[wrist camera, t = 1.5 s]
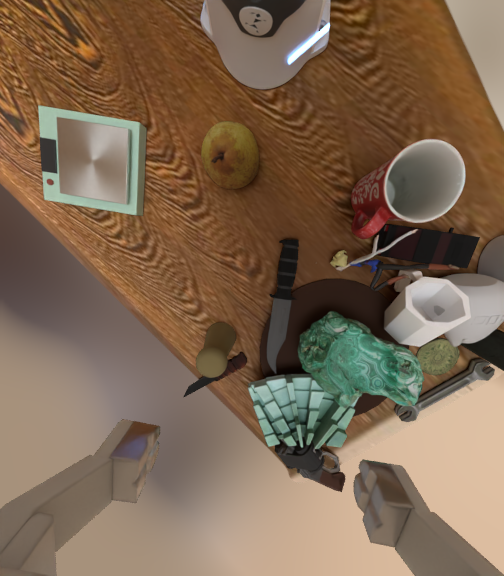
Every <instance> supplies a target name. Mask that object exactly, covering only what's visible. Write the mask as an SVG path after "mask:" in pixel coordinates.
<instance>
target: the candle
mask: <svg viewBox="0 0 504 576" xmlns="http://www.w3.org/2000/svg"><path fill="white" fill-rule="evenodd" d="M461 345H462V346H464V347H465V348H467V349H469V350H470V351H472V352H474V353H475V354H477V355H479V356H480V357H482V358H484V359H485V360H487V361H488V362H490V363H492V364H493V365H495V366H497V367H498V368H500V369H502V370H503V371H504V332H502V331H500V330H498V329H495V330H494V331H493V332H492V333H490V334H489V335H488V336H487V337H485V338H483V339H481V340H479V341H477V342H475V343H461Z"/></svg>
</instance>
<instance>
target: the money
mask: <svg viewBox="0 0 504 576" xmlns="http://www.w3.org/2000/svg"><path fill="white" fill-rule="evenodd" d="M248 386H249V387H248V390H249V393H250V395H251V398H252V400H253V403H254V406H253V407H254V410H255V412H256V415H257V417H258V421H259V424H260V426H261V429H262V431H263V433H264V435H265V436H264V437H265V440H266V443H267V445H268V446H273V445H277V444H280V441H279V439H284V441H285V442H286V443H287V445H288V446H296V445H297V444H296V440H299V442H300V446H301V447H303V441H302V436H304V437H305V440H306V444H307V445H310V443H311V441H312V440H313V443H314V448H315V449H319V448H320V447H321V446H322V445H323V444H324V442H325V443H326V445H328V446H335V447H341V446H342V444H343V443H344V441H345V439H346V437H347V434H346V433H345V430H346V428H347V426H348V424H349V422H350V420H351V418H352V416H353V415H354V413H355V409H354V406H355V404H356V402H357V400H358V398H359V397H358V398H357V399H356V401H355V402H354V403H353V404H352V405H350V406H349V407H348V408H346V409H345V408H343V407H340V405H339V404H338V403H337V402H336V400H335V398H334V396H333V395H331V394H329V393H327V392H325V391H324V390H323V389H322V388H321V387H320V386H318V385H317V383H316V381H315V379H314V378H313V376H312V374H287V375H279V376H273V377H267V378H265V379H263V380H259V381H255V382H251V383H249V384H248Z"/></svg>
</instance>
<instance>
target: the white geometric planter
mask: <svg viewBox="0 0 504 576" xmlns="http://www.w3.org/2000/svg"><path fill="white" fill-rule="evenodd" d="M402 274H405V275H408V276H409V278H410V279H408V278H403V279H400V280H398V281H396V283H395V285H394V289H395V291H396V292H401V293H400V294H399V295H398V296H397V298H396V299H395V300H394V301H393V302H392V304H391V305H390V306H389V307H388V308H387V309H386V311H385V316H384V330H386V331H387V332H388V333H389V334H390V335H391V336H392V337H393V338H394V339H395V340H396V341H397V342H398V343H399V344H406V345H412V346H418V347H420V346H422V345H424V344H426V343H427V342H429V341H431V340H433V339H435V338H436V337H438V336H440V335H442V334H443V333H445V332H447V331H449V330H451V329H452V328H454V327H456V326H458V325H459V324H461V323H463V322H464V321H466V320H468V319H470V318H471V314H470V304H469V297H468V296H467V295H465V294H464V293H463V292H462V291H461V290H460V289H458V288H457V287H456V286H455V285H454V284H453V283H451V282H450V281H449V280H447V279H439V278H431V277H423V275H422V272H421V271H418V270H415V269H403V270H400V271H399V274H398V276H401V275H402ZM411 279H412V281H413V283H412V284H410V281H411ZM434 306H440V307H441V308H443V309H444V310H445V311H444V312H443V313H442V314H441V315H439V316H438V315H437V314H436V313H435V312H434Z"/></svg>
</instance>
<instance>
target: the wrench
mask: <svg viewBox="0 0 504 576" xmlns="http://www.w3.org/2000/svg"><path fill="white" fill-rule="evenodd" d="M489 364H491V363H489V362H487V361H486V360H483V359H476V360H472V361H471V363H470V366H469V368H468V370H466V371H465V372H463V373H461V374H459V375H457V376H456V377H454V378H452V379H450V380H449V381H447V382H445V383H443V384H442V385H440V386H438V387H436V388H434V389H433V390H431V391H429V392H427V393H426V394H424V395H422V396H420V397H419V398H418V400H417V402H416V404H415V405H414V406H402V405H399V404H397V405H396V407H395V413H396V414H397V416H398V415H399V414H401V413H403V412H404V411H407V413H405V414H403V415H401V416H399V418H400V419H401V421H405V422H410V421H414V420H416V418H417V416H418V414H419V412H420V411H421V410H423V409H425V408H427V407H429V406H430V405H432V404H434V403H436V402H438V401H440V400H441V399H443V398H445V397H447V396H449V395H450V394H452V393H454V392H456V391H458V390H460V389H461V388H463V387H465V386H467V385H469V384H470V383H472V382H474V381H476V380H489V379H490V378H491V377H492V376H493V375H494V371H495V369H493V368H492V367H490V366H489V367H487V368H486V369H484V370H483V367H485V366H487V365H489Z"/></svg>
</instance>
